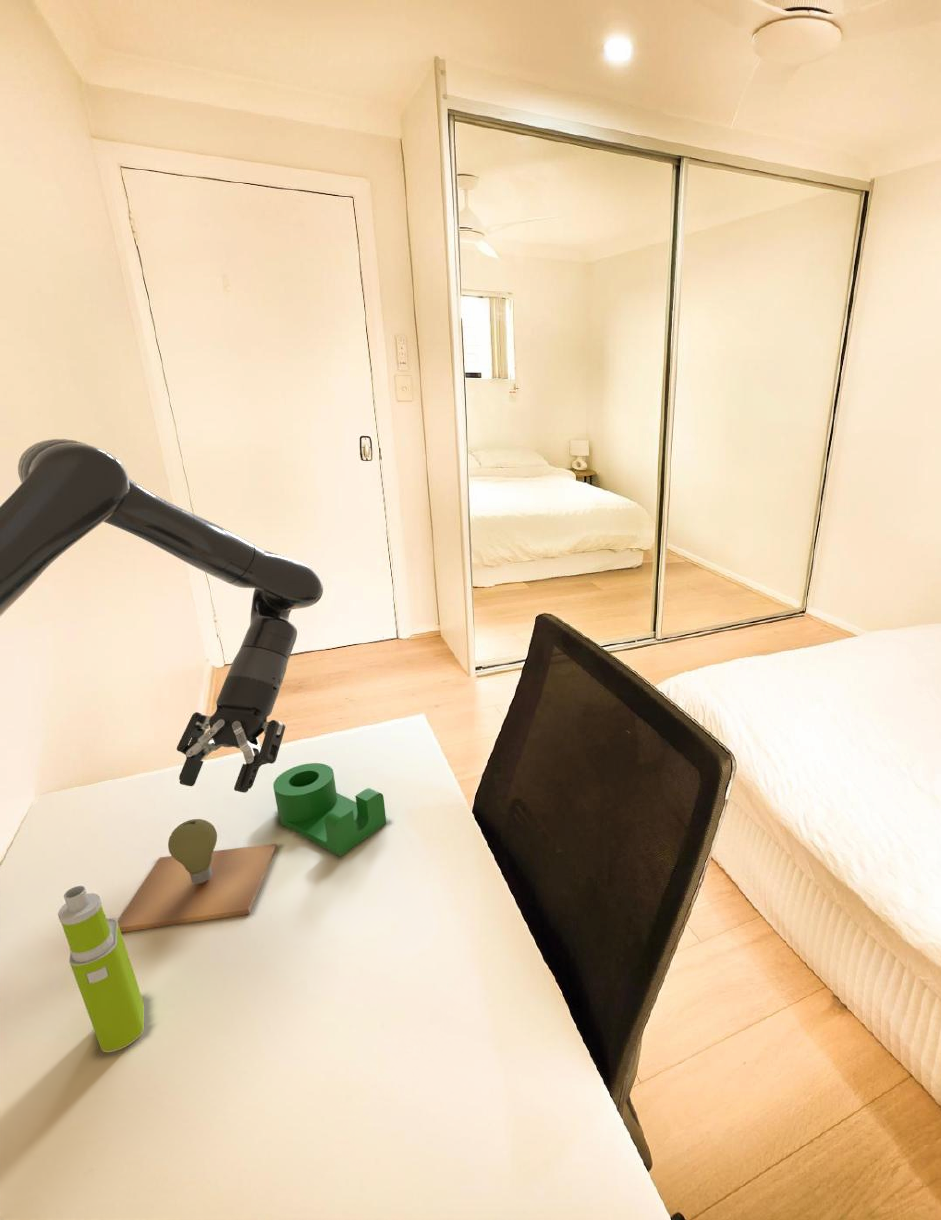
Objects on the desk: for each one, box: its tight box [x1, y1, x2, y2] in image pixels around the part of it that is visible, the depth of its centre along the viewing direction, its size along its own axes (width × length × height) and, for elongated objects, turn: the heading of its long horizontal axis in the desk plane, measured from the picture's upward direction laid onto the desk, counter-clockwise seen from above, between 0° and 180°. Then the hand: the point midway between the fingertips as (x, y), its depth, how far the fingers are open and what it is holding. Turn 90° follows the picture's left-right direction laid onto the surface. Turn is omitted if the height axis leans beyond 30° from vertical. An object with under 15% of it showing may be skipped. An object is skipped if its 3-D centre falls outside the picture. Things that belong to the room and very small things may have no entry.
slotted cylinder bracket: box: [272, 762, 387, 857], centre depth 99 cm, size 18×9×6 cm, turn 61°
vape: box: [57, 885, 145, 1053], centre depth 63 cm, size 4×6×20 cm, turn 36°
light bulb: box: [167, 818, 218, 884], centre depth 84 cm, size 6×6×10 cm
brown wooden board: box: [117, 843, 278, 933], centre depth 85 cm, size 16×13×1 cm
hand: (213, 788), depth 86 cm, fingers open, 8 cm apart
